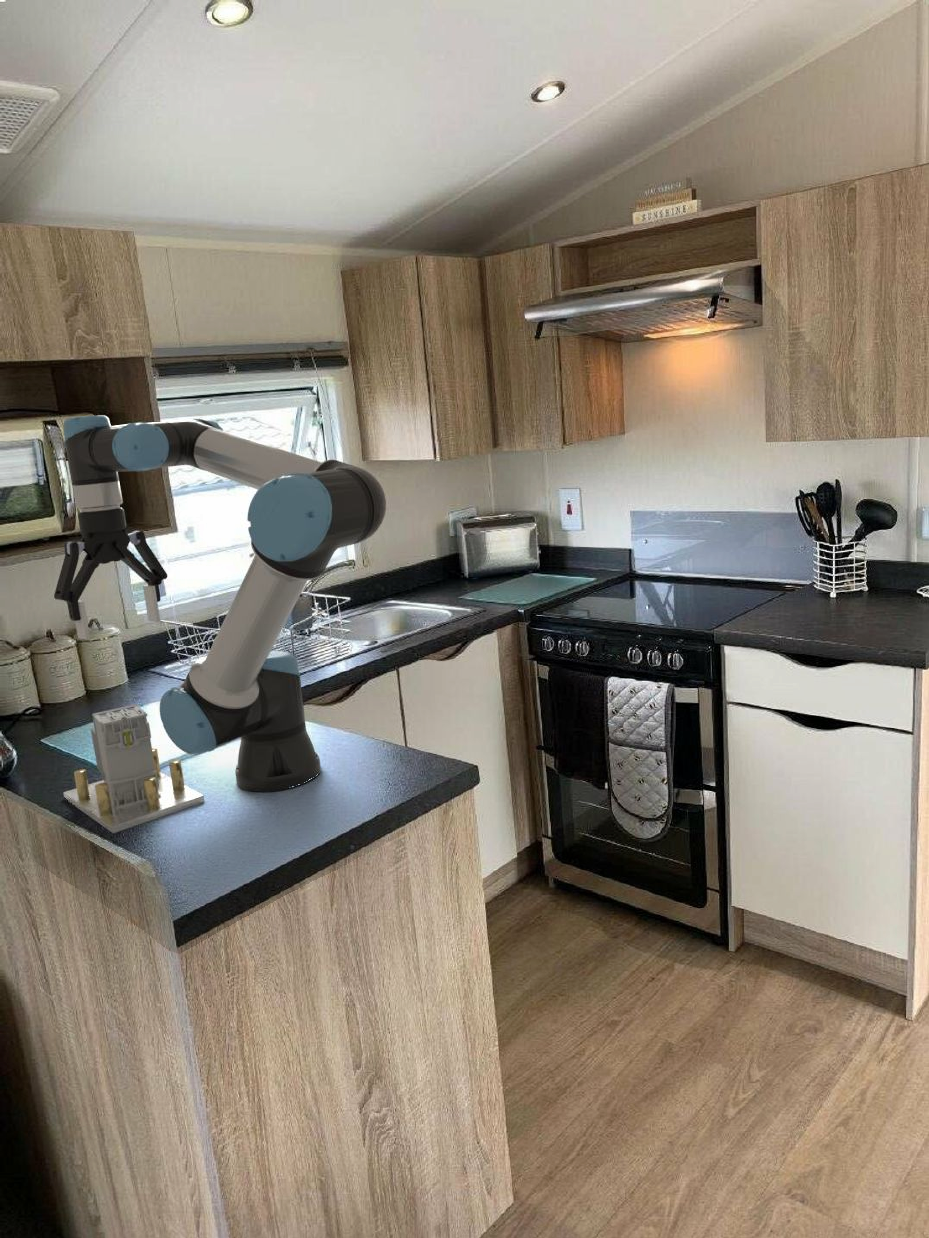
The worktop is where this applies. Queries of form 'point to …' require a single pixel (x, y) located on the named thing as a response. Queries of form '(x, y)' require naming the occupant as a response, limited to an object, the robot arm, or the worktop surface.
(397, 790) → the worktop surface
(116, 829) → the mounting plate
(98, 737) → the circuit breaker
